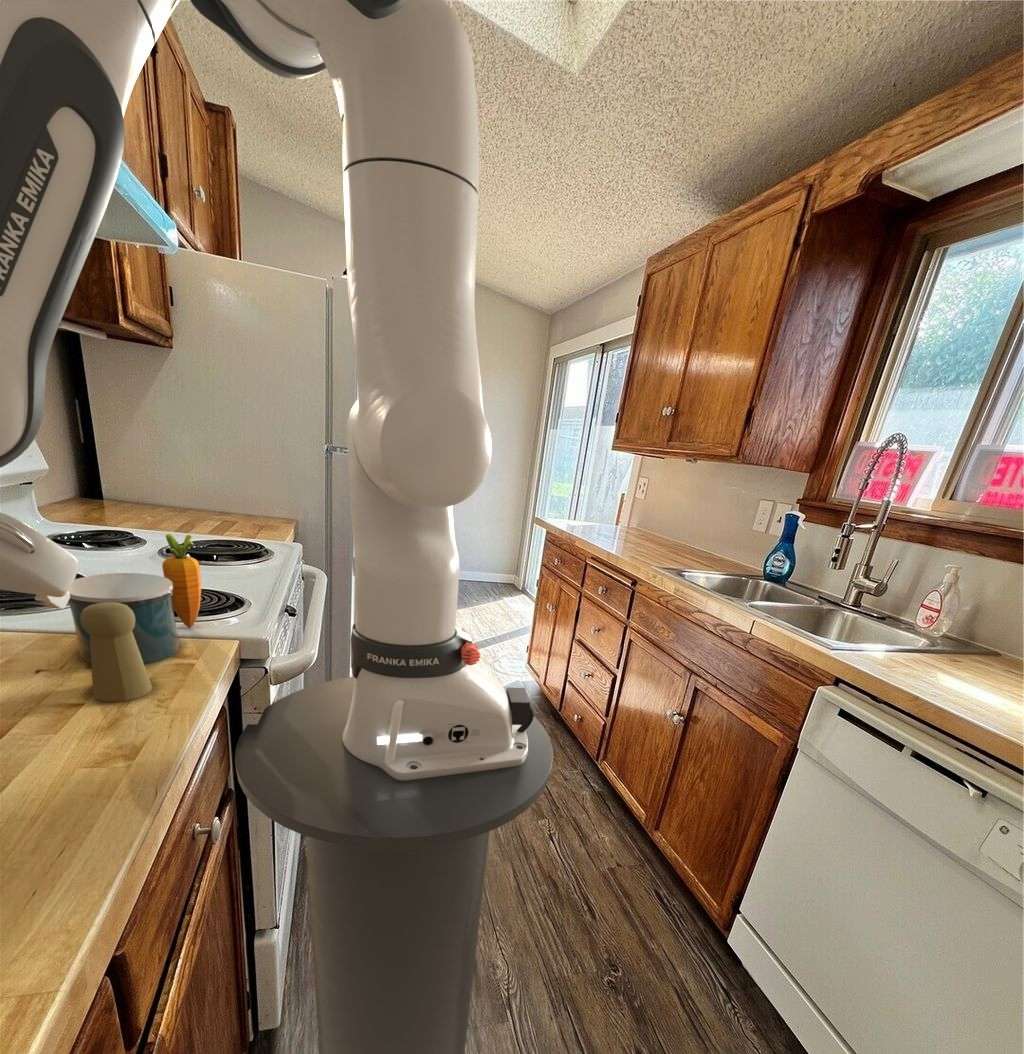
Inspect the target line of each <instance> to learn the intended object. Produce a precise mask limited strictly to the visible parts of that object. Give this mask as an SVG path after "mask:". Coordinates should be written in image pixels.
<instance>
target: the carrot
mask: <svg viewBox="0 0 1024 1054" xmlns="http://www.w3.org/2000/svg"><path fill="white" fill-rule="evenodd" d="M192 537H193V536H192V535H190V534H186V536H185V537H184V539H183V543H182V544H181V545H180V544H179V543H178V541H177V539H176V538H175V537H174V535H172V534H171V533H167V534H165V539H166V542H167V543H168V546H169V551H170V552H171V553H172V554H173V555H171V556H168V557H167V558H166V559H165V560H163V562H162V566H161V567H162V572H163V577H165V578H167V579H169V580H171V581H172V583H173V595H172V596H171V597H172V603H173V610H174V613H175V614H176V615H177V617H178V619H180V621H181V622H182V623H183V625H184V626H186V627H187V628H188V629H191V628H192V627H193V626H194V625H195V622H196V620H197V617H198V616H199V611H200V608H201V600H202V599H201V598H202V583H201V580H202V579H201V570H200V563H199V561H198V560H197V559H196V558H194V557H192V556H189V555H187V552H188V550H189V549H190V547H192V546H194V542H193V541H191V540H192Z"/></svg>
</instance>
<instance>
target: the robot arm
mask: <svg viewBox="0 0 1024 1054" xmlns="http://www.w3.org/2000/svg"><path fill="white" fill-rule="evenodd" d="M189 1H190V3H191V5H192V6H193V7H194V8H195V9H196V10H197V11H198V13H199V14H200V15H201V16H203V17H204V18H205V19H206V20H208V21H209V22H210V23H212V25H215V26H216V27H217V28H218V29H220V30H221V31H223V32H224V33H225V34H227V35H228V36H229V38H230V39H231V40H232V41H233V43H235V44H236V45H237V46H238V47H239V48H240V49H241V50H242V51H243V52H244V53H245V54H246V55H247V56H248V57H249V58H250V59H251V60H253V62H255V63H257V64H258V65H259V66H261V67H262V68H263V69H265V70H267V71H269V72H270V73H272V74H274V75H276V76H278V77H282V78H285V79H290V80H304V79H308V78H312V77H313V76H317V75H318V74H320V73H322V72H323V71H324V70H327V72H328V75H329V77H330V80H331V83H332V86H333V88H334V92H335V95H336V99H337V103H338V109H339V117H340V122H341V123H342V174H343V175H342V177H343V178H342V180H343V204H344V205H343V206H344V209H343V210H344V228H345V229H344V231H345V258H346V260H345V261H346V283H347V285H346V286H347V297H348V303H349V309H350V310H349V311H350V319H351V328H352V336H353V347H354V356H355V367H356V369H355V370H356V381H357V395H358V397H357V399H356V400H355V401H354V403H353V405H352V407H351V409H350V411H349V415H348V418H347V424H346V445H347V447H346V448H347V466H348V487H349V500H350V501H349V502H350V515H351V529H352V541H353V552H354V553H353V557H354V608H355V609H354V618H355V620H354V623H353V624H352V629H351V634H350V639H349V641H350V642H349V645H350V647H349V648H350V650H349V653H350V656H349V657H350V668H351V673H352V677H353V676H354V683H353V692H352V699H351V705H350V711H349V715H348V719H347V723H346V726H345V729H344V732H343V736H342V740H343V744H344V746H345V747H346V749H347V750H348V751H349V752H350V753H351V754H352V755H354V756H355V757H357V758H358V759H360V760H362V761H365V762H367V763H370V764H372V765H375V766H378V767H380V768H382V769H383V770H384V771H385V772H386V773H387V774H389V775H390V776H391V777H393V778H394V779H397V780H401V781H407V780H414V779H422V778H430V777H438V776H445V775H453V774H461V773H468V772H476V771H484V770H491V769H499V768H507V767H514V766H519V765H521V764H522V763H523V762H524V761H525V759H526V757H527V754H528V738H527V734H526V731H525V730H526V729H527V728H528V727H529V726H530V724H531V723H532V721H533V717H535V713H534V709H533V707H532V706H531V701H530V697H529V695H528V692H527V690H526V687H507V686H506V688H504V686H503V685H502V683H501V682H500V681H499V680H498V679H497V678H496V677H495V676H493V675H492V674H491V673H489V672H488V671H486V670H485V669H484V668H482V667H481V666H480V665H478V664H477V663H478V662H479V661H480V658H481V654H480V653H481V652H480V651H479V647H478V646H477V645H476V644H475V643H473V638H472V637H471V636H470V635H469V634H468V632H467V630H466V629H465V627H461V629H460V628H459V627H457V612H458V599H459V598H458V597H459V585H460V584H459V582H460V569H461V568H460V567H461V565H460V556H459V552H458V547H457V542H456V534H455V525H454V513H453V512H454V511H453V506H456V505H458V504H461V503H462V502H464V501H466V500H467V499H468V498H470V497H471V496H473V494H474V493H475V492H476V491H477V490H478V489H479V488H480V486H481V485H482V484H483V482H484V480H485V478H486V476H487V474H488V471H489V468H490V466H491V460H492V451H493V450H492V449H493V448H492V446H493V445H492V437H491V431H490V429H489V424H488V422H487V419H486V417H485V413H484V404H483V403H484V402H483V389H482V378H481V367H480V357H479V349H478V347H479V346H478V339H477V327H476V311H475V307H476V306H475V305H476V304H475V301H476V300H475V296H476V268H477V266H476V265H477V244H478V243H477V241H478V218H479V217H478V215H479V191H480V190H479V189H480V187H479V185H480V136H479V113H478V100H477V98H478V97H477V89H476V86H477V85H476V77H475V67H474V59H473V52H472V47H471V44H470V40H469V37H468V34H467V32H466V29H465V27H464V26H463V23H462V21H461V20H460V19H459V16H458V15H457V13H456V12H455V11H454V10H453V9H452V7H450V5H449V4H448V3H446V2H445V0H189ZM180 2H181V0H0V469H1V468H4V467H5V466H7V465H8V464H10V463H12V462H13V461H15V460H17V458H19V457H20V456H22V454H24V452H26V451H27V449H28V448H29V447H30V446H31V445H32V444H33V442H34V440H35V438H36V437H37V435H38V433H39V430H40V427H41V424H42V422H43V416H44V412H45V411H44V409H45V395H46V377H47V366H48V361H49V356H50V352H51V348H52V345H53V342H54V339H55V336H56V334H57V331H58V329H59V326H60V324H61V321H62V319H63V317H64V314H65V311H66V309H67V307H68V304H69V302H70V300H71V297H72V294H73V292H74V289H75V287H76V284H77V282H78V279H79V277H80V274H81V273H82V270H83V268H84V265H85V263H86V260H87V257H88V255H89V252H90V249H91V248H92V245H93V243H94V240H95V238H96V235H97V233H98V230H99V228H100V225H101V223H102V220H103V217H104V215H105V212H106V211H107V207H108V205H109V201H110V200H111V195H112V194H113V190H114V187H115V184H116V181H117V178H118V175H119V171H120V167H121V164H122V158H123V155H124V154H123V153H124V147H125V122H124V121H125V120H124V118H125V114H126V111H127V110H126V109H127V107H128V104H129V100H130V97H131V94H132V91H133V88H134V87H135V84H136V82H137V79H138V77H139V75H140V73H141V71H142V69H143V67H144V65H145V63H146V61H147V59H148V57H149V56H150V54H151V51H152V49H153V47H154V46H155V45H156V43H157V41H158V39H159V37H160V36H161V33H162V31H164V28H165V26H166V24H167V22H168V21H169V18H170V17H171V15H172V14H173V12H174V10H175V9H176V7H177V6H178V4H179V3H180ZM79 562H80V561H79V560H78V559H77V557H75V555H74V554H72V553H71V552H70V551H68V550H66V549H65V548H63V547H62V546H61V545H60V544H58V543H56V542H55V541H53V540H52V539H51V538H49V537H47V536H46V535H44V534H43V533H41V532H40V531H38V530H37V529H35V528H34V527H32V526H31V525H29V524H27V523H25V522H23V521H22V520H20V519H18V518H16V517H13V516H12V515H9V514H7V513H5V512H4V513H3V512H0V591H6V592H15V593H22V594H30V595H36V596H35V598H34V600H35V601H36V602H38V603H39V604H41V605H43V606H44V607H47V608H53V609H59V610H60V609H61V610H63V609H66V607H67V604H69V602H68V601H69V599H70V594H69V592H68V590H69V589H70V587H71V585H72V583H73V581H74V580H75V579H76V577H77V574H78V571H79V567H80V563H79Z"/></svg>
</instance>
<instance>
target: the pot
mask: <svg viewBox="0 0 1024 1054" xmlns="http://www.w3.org/2000/svg"><path fill="white" fill-rule="evenodd" d="M68 592H69V594H70V599H69V601H68V604H69V607H70V612H71V616H72V621H73V625H74V629H75V633H76V634H75V635H76V637H77V642H78V646H79V650H80V654H81V655H80V656H81V658H82V659H83V660H84V661H85V662H87V663H89V664H91V645H90V634H88V633H87V632H86V631H85V630H84V628H83V627H82V625H81V621H80V618H81V613H82V611H83V609H85V608H86V607H88V606H90V605H93V604H98V603H109V602H111V603H121V604H124V605H127V606H128V607H129V608H130V609H131V610H132V611H133V613H134V615H135V627H134V628H133V630H132V632H133V635H134V638H135V641H136V643H137V646H138V649H139V652H140V654H141V657H142V660H143V663H144V665H146V664H152V663H156V662H159V661H162V660H165V659H167V658H169V657H171V656H173V655H174V654H176V653H177V652H178V651H179V649H180V642H179V637H178V629H177V622H176V617H175V616H176V615H175V610H174V608H173V603H172V597H171V596H172V595H173V583H172V581H171V580H169V579H167V578H165V577H164V576H161V575H157V574H149V573H139V572H138V573H137V572H136V573H135V572H118V573H117V572H116V573H103V574H95V575H94V574H93V575H89V576H83V577H78V578H75V579H74V581H73V583H72V585H71V587H70V589H69V590H68Z"/></svg>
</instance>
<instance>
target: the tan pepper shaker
mask: <svg viewBox="0 0 1024 1054" xmlns="http://www.w3.org/2000/svg"><path fill="white" fill-rule="evenodd" d="M80 621H81V625H82V627H83V628H84V630H85V631H86V632H87V633H88V634H90V645H91V663H90V664H91V679H92V680H91V681H92V696H93V697H94V698H95V699H96V700H98V701H101V702H108V703H109V702H110V703H112V702H113V703H117V702H126V701H131V700H135V699H139V698H141V697H145V695H147V694H149V693H150V692H151V691H152V689H153V685H152V682H151V680H150V677H149V674H148V671H147V668H146V666H145V664H144V663H143V660H142V657H141V654H140V652H139V649H138V646H137V643H136V641H135V638H134V635H133V632H132V630H133V628H134V627H135V615H134V613H133V611H132V610H131V609H130V608H129V607H128V606H127V605H124V604H121V603H111V602H109V603H98V604H93V605H90V606H88V607H86V608H85V609H83V611H82V613H81V618H80Z"/></svg>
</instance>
